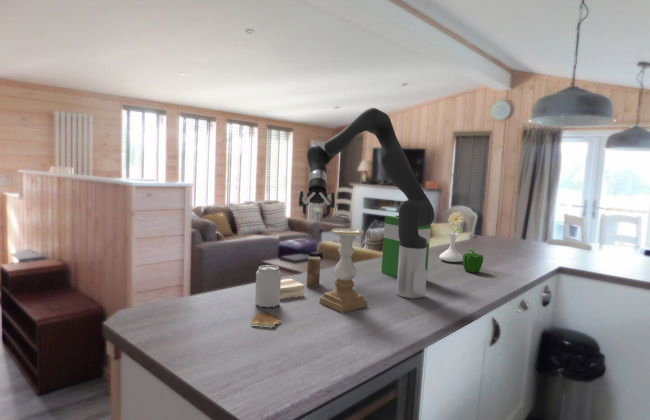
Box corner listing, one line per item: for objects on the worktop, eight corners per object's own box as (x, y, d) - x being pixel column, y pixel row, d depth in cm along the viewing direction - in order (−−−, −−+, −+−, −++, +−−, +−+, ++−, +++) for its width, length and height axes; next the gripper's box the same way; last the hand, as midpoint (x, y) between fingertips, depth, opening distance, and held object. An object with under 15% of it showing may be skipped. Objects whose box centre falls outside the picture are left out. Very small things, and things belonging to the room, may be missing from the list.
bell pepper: (486, 273, 184) (488, 251, 183) (471, 274, 181) (473, 251, 180) (473, 269, 192) (474, 247, 191) (458, 269, 189) (460, 247, 188)
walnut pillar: (319, 283, 155) (320, 256, 154) (319, 286, 151) (320, 259, 150) (306, 282, 155) (308, 256, 154) (306, 286, 151) (307, 259, 150)
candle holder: (318, 302, 133) (322, 228, 131) (344, 297, 140) (348, 226, 138) (342, 313, 125) (346, 234, 122) (367, 306, 132) (372, 231, 129)
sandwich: (260, 314, 122) (260, 308, 122) (286, 316, 121) (286, 310, 121) (249, 328, 111) (249, 321, 111) (278, 330, 110) (278, 324, 110)
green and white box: (381, 272, 176) (385, 216, 174) (393, 270, 181) (397, 215, 178) (414, 282, 163) (419, 221, 160) (426, 280, 167) (431, 221, 165)
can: (256, 309, 124) (257, 270, 123) (253, 301, 131) (255, 264, 130) (281, 308, 126) (283, 269, 125) (277, 300, 133) (279, 263, 132)
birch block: (303, 296, 140) (304, 285, 139) (279, 300, 134) (280, 288, 134) (290, 289, 147) (291, 278, 147) (267, 292, 142) (267, 281, 141)
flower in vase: (434, 258, 210) (438, 209, 207) (454, 258, 213) (458, 209, 210) (449, 265, 197) (453, 212, 195) (470, 264, 201) (474, 212, 198)
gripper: (300, 176, 169) (297, 207, 159) (335, 177, 170) (335, 208, 159) (300, 188, 175) (297, 219, 165) (334, 190, 175) (333, 220, 165)
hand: (316, 214), depth 162 cm, fingers open, 8 cm apart
